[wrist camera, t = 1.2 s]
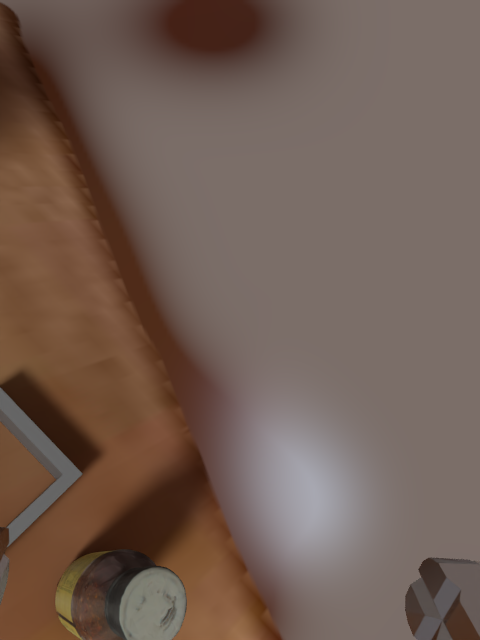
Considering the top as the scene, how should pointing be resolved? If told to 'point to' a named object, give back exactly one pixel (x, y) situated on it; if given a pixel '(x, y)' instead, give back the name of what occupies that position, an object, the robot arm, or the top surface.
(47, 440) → the bottle collar
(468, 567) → the robot arm
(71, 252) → the top surface
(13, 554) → the top surface
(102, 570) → the sauce bottle
